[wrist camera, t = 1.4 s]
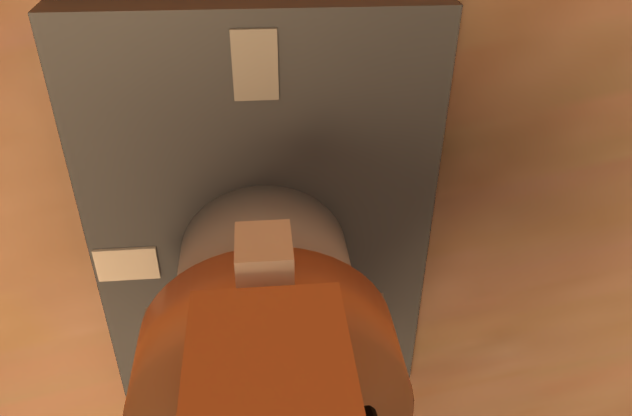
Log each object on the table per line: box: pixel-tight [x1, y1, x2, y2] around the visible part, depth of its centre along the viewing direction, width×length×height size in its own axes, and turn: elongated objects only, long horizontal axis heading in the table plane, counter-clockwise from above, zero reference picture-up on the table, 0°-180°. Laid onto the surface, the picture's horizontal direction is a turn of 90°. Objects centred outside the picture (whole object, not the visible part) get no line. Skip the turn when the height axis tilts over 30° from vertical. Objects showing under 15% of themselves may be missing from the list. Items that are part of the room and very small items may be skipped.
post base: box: [28, 0, 463, 396], centre depth 15 cm, size 13×9×4 cm
